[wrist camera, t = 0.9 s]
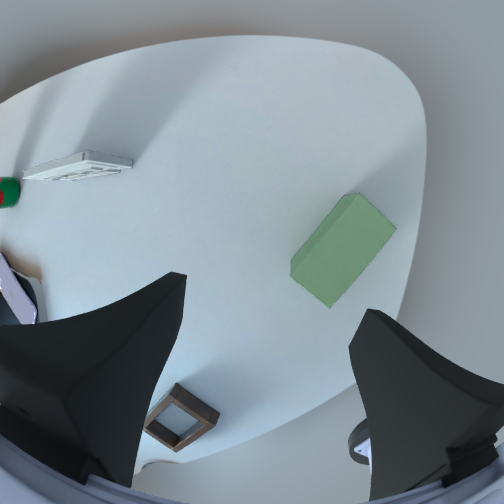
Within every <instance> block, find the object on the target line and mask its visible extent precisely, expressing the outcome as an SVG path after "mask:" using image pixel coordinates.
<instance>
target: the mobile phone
mask: <svg viewBox="0 0 504 504" xmlns="http://www.w3.org/2000/svg"><path fill="white" fill-rule="evenodd" d="M0 291H1V293H2V294H3V296H4V298H5V299H6V301H7V303H8V304H9V306H10V307H11V309H12V310H13V312H14V314H15V315H16V317H17V318H18V320H19V321H20V322H21V324H34V323H35V321H36V316H37V309H36V306H35V305H34V304H33V302H32V301H31V299H30V298H29V296H28V295H27V293H26V292H25V290H24V289H23V287H22V286H21V284H20V283H19V281H18V280H17V278H16V277H15V275H14V273H13V272H12V270H11V268H10V267H9V265H8V263H7V261H6V260H5V258H4V256H3V255H2V254H1V253H0Z"/></svg>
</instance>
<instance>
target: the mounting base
mask: <svg viewBox="0 0 504 504" xmlns="http://www.w3.org/2000/svg"><path fill="white" fill-rule="evenodd" d="M171 402H172V403H174V404H175V405H177V406H178V407H179V408H181V409H182V410H184V411H185V412H186V413H188V414H189V415H191V416H192V417H194V418H195V419H197V420H198V421H199V422H198V423H197V424H195V425H194V426H193V427H192V428H190V429H189V430H188V431H186V432H185V433H184V434H182V435H181V436H180V437H179V436H177V435H176V434H174V433H173V432H171V431H170V430H168V429H167V428H165V427H164V426H162V425H161V424H160V423H158V422H157V421H156V420H154V419H155V418H156V417H157V416H158V415H159V414H160V413H161V412H162V411H163V410H164V409H165V408H166V407H167V406H168V405H169V404H170V403H171ZM219 415H220V413H218V412H217V411H215V410H214V409H212V408H211V407H209V406H208V405H206V404H205V403H203V402H202V401H201V400H199V399H198V398H196V397H195V396H193V395H192V394H191V393H189V392H188V391H186V390H185V389H184V388H182V387H181V386H180V385H178V384H177V383H175V385H174V386H173V387H172V388H171V389H170V390H169V391H168V392H167V393H166V394H165V395H164V396H163V397H162V398H161V399H160V400H159V402H158V403H157V404H156V405H155V406H154V407H153V408H152V409H151V410H150V411H149V412H148V413H147V415H146V419H145V423H144V427H143V431H145V432H146V433H148V434H149V435H150V436H152V437H153V438H155V439H156V440H158V441H159V442H160V443H162V444H163V445H165V446H166V447H168V448H170V449H171V450H173V451H174V452H176V453H177V452H178V451H180V450H181V449H183V448H184V447H186V446H187V445H189V444H190V443H192V442H193V441H195V440H196V439H198V438H199V437H200V436H202V435H203V434H205V433H206V432H208V431H209V430H210V429H212V428H213V427H214V426H215V425H216V423H217V420H218V418H219Z"/></svg>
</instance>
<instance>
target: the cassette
mask: <svg viewBox="0 0 504 504" xmlns="http://www.w3.org/2000/svg"><path fill="white" fill-rule="evenodd" d="M126 168H132V160H131V159H126V158H122V157H117V156H112V155H107V154H103V153H98V152H92V151H85V152H81V153H77V154H74V155H70V156H67V157H63V158H60V159H57V160H53V161H50V162H47V163H44V164H41V165H38V166H35V167H32V168H29V169H27V170H24V171H22V179H44V180H65V179H66V180H72V181H73V180H79V179H84V178H89V177H95V176H101V175H107V174H114V173H120V170H121V169H126Z"/></svg>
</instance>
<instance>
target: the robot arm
mask: <svg viewBox="0 0 504 504" xmlns="http://www.w3.org/2000/svg"><path fill="white" fill-rule="evenodd" d="M186 279H187V275H184V274H180V273H175V272H170V273H168V274H166V275H164V276H163V277H161V278H159V279H158V280H156V281H154V282H153V283H151V284H149V285H147V286H146V287H144V288H142V289H140V290H139V291H137V292H135V293H133V294H131V295H129V296H127V297H125V298H123V299H121V300H119V301H116V302H114V303H112V304H109V305H107V306H104V307H102V308H99V309H96V310H93V311H90V312H87V313H83V314H80V315H76V316H72V317H69V318H65V319H60V320H55V321H49V322H43V323H34V324H19V325H2V326H1V327H0V404H1V405H0V504H188V503H182V502H178V501H173V500H169V499H165V498H161V497H157V496H153V495H150V494H146V493H143V492H140V491H136V490H133V489H130V488H131V484H132V478H133V473H134V467H135V462H136V457H137V452H138V447H139V443H140V439H141V434H142V430H143V427H144V423H145V419H146V415H147V412H148V408H149V405H150V401H151V398H152V395H153V392H154V389H155V386H156V384H157V382H158V379H159V377H160V375H161V373H162V370H163V368H164V366H165V364H166V361H167V359H168V357H169V355H170V353H171V350H172V348H173V346H174V344H175V341H176V339H177V335H178V332H179V329H180V326H181V322H182V318H183V307H184V297H185V288H186ZM349 353H350V359H351V365H352V369H353V372H354V376H355V379H356V382H357V385H358V388H359V391H360V395H361V397H362V401H363V404H364V408H365V411H366V416H367V421H368V427H369V434H370V438H368V439H367V440H365V441H364V442H362V443H361V444H359V445H358V446H356V447H355V448H354V451H355V452H357V453H359V454H362V455H364V456H366V457H368V458H369V463H370V469H371V474H372V476H371V490H370V499H369V502H365V503H361V504H504V443H502V444H501V445H499V446H498V447H497V448H495V446H494V443H495V442H496V441H497V437H496V435H495V434H496V433H497V432H498V431H499V429H501V428H502V427H503V426H504V384H500V383H497V382H494V381H491V380H488V379H486V378H483V377H481V376H478V375H476V374H474V373H472V372H470V371H468V370H465V369H464V368H462V367H460V366H458V365H456V364H454V363H453V362H451V361H450V360H448V359H446V358H444V357H443V356H442V355H440V354H439V353H437V352H436V351H434V350H433V349H431V348H430V347H429V346H427V345H426V344H424V343H423V342H422V341H421V340H419V339H418V338H417V337H416V336H414V335H413V334H412V333H410V332H409V331H408V330H407V329H405V328H404V327H403V326H401V325H400V324H399V323H398V322H396V321H395V320H394V319H392V318H391V317H390V316H388V315H387V314H385V313H383V312H382V311H380V310H374V309H367V310H366V313H365V315H364V317H363V319H362V321H361V323H360V325H359V327H358V329H357V331H356V333H355V335H354V337H353V339H352V341H351V343H350V345H349Z"/></svg>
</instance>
